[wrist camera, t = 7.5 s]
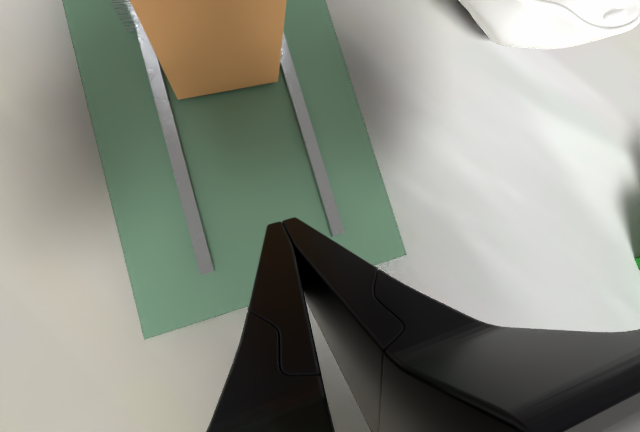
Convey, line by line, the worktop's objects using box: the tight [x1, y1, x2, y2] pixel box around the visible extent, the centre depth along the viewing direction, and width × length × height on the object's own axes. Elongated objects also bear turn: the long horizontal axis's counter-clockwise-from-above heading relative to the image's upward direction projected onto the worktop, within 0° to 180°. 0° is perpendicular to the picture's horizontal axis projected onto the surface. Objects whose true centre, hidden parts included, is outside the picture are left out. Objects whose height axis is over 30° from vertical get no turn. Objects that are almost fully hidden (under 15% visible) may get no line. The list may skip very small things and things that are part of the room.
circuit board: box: [62, 0, 407, 340], centre depth 17 cm, size 22×13×1 cm, turn 17°
